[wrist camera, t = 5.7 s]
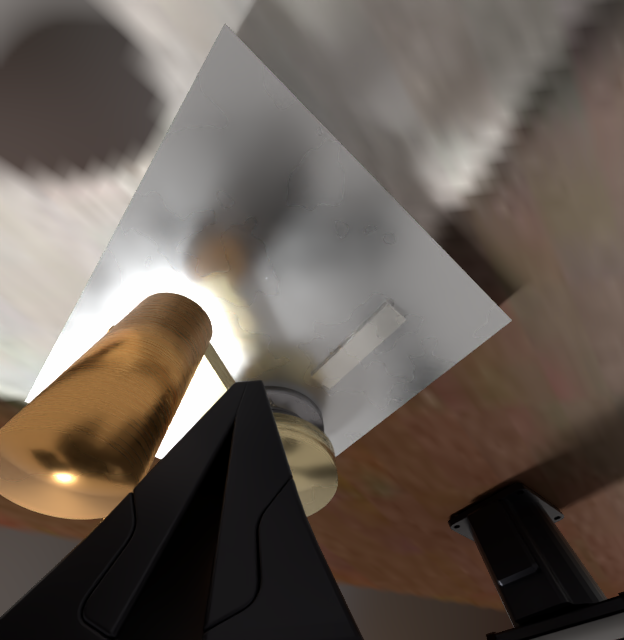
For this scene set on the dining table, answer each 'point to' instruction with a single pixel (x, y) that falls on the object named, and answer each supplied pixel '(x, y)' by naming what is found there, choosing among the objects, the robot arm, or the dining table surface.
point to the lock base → (282, 260)
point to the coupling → (134, 417)
